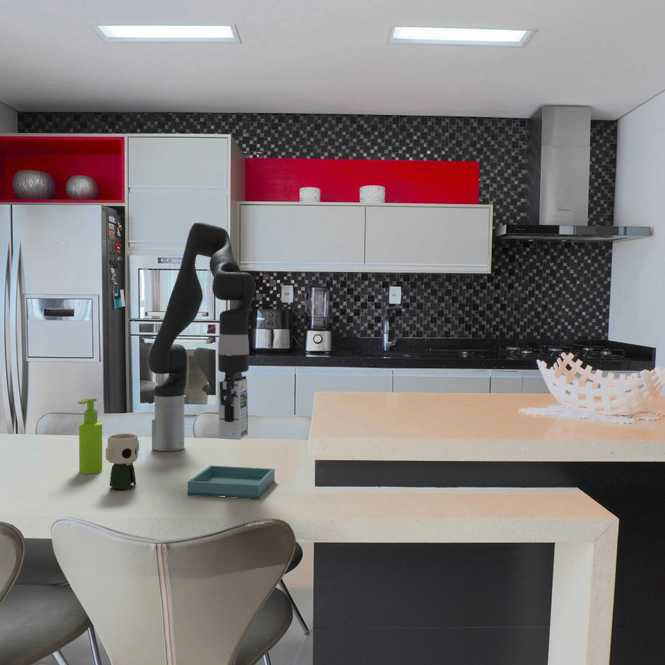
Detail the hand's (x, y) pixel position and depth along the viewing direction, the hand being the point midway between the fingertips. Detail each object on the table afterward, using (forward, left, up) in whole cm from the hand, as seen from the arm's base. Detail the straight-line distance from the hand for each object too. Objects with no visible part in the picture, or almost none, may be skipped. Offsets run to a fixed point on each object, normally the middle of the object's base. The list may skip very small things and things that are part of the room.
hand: (233, 419), depth 157 cm
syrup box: (0, 0, -5) cm, 5 cm away
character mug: (-27, -5, -18) cm, 33 cm away
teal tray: (0, 0, -17) cm, 17 cm away
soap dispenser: (-43, +7, -18) cm, 47 cm away
